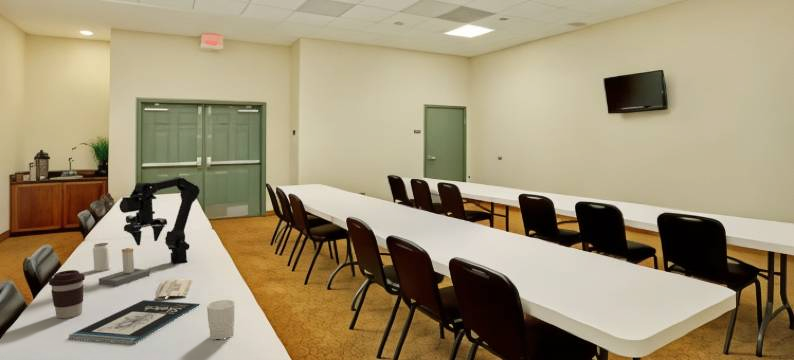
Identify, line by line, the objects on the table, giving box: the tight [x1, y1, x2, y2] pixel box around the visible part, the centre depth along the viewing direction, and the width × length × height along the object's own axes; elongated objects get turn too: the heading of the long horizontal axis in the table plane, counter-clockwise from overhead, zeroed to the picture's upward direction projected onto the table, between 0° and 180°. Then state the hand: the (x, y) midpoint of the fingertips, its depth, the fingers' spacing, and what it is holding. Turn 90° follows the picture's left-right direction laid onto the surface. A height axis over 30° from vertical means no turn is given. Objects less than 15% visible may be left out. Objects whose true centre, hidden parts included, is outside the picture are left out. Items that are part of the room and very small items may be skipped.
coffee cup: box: [48, 269, 86, 319], centre depth 154 cm, size 10×10×15 cm
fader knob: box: [121, 247, 135, 273], centre depth 195 cm, size 3×3×10 cm
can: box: [92, 242, 112, 272], centre depth 209 cm, size 6×6×12 cm
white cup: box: [206, 299, 236, 340], centre depth 138 cm, size 8×8×10 cm
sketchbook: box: [67, 299, 201, 346], centre depth 150 cm, size 23×32×2 cm
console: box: [98, 267, 150, 287], centre depth 194 cm, size 16×10×2 cm, turn 161°
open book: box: [154, 278, 193, 301], centre depth 180 cm, size 23×12×2 cm, turn 18°
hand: (147, 243), depth 206 cm, fingers open, 9 cm apart
